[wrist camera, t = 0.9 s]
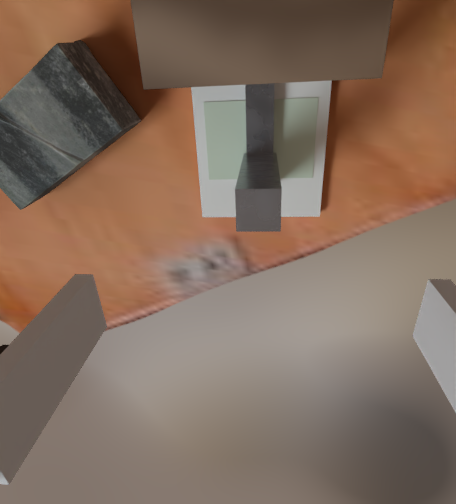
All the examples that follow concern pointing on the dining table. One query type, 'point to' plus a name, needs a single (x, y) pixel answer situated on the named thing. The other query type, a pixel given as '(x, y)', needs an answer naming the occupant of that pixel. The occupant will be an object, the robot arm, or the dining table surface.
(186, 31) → the small grey table
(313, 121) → the white flat panel
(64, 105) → the stone block
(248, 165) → the grey l-shaped piece
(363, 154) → the dining table surface
